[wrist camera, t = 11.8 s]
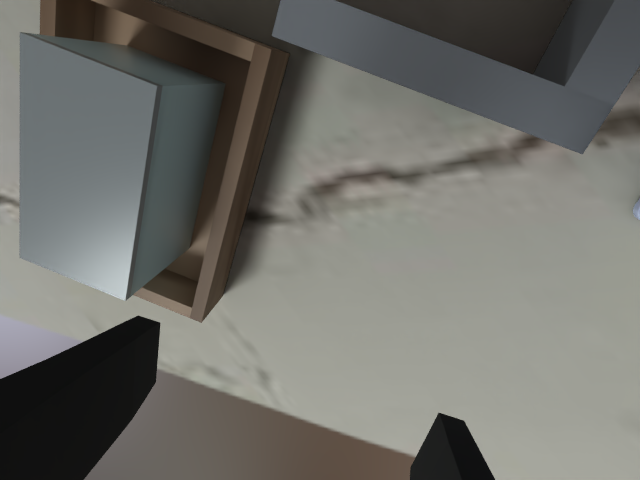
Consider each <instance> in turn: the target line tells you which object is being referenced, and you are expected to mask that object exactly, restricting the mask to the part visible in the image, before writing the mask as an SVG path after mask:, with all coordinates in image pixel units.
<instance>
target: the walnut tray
mask: <svg viewBox="0 0 640 480" xmlns="http://www.w3.org/2000/svg"><path fill="white" fill-rule="evenodd" d="M40 35H47V36H55V37H63V38H71V39H79V40H88V41H96V42H104V43H112V44H120V45H128V46H130V47H133V48H135V49H138V50H140V51H143V52H145V53H148V54H151V55H153V56H156V57H158V58H161V59H163V60H166V61H169V62H171V63H174V64H176V65H179V66H181V67H184V68H186V69H189V70H192V71H194V72H197V73H199V74H202V75H204V76H207V77H210V78H212V79H215V80H217V81H220V82H222V83H225V84H226V85H225V89H224V94H223V98H222V103H221V107H220V112H219V117H218V121H217V126H216V130H215V135H214V139H213V144H212V148H211V153H210V157H209V162H208V166H207V171H206V176H205V180H204V185H203V189H202V194H201V198H200V203H199V207H198V212H197V216H196V221H195V225H194V230H193V235H192V239H191V244H190V248H189V249H188V250H187V251H185V252H184V253H183V254H182V255H181V256H179V257H178V258H177V259H176V260H175V261H173V262H172V263H171V264H170V265H168V266H167V267H166V268H165V269H164V270H162V271H161V272H160V273H159V274H157V275H156V276H155V277H154V278H153V279H151V280H150V281H149V282H148V283H147V284H145V285H144V286H143V287H142V288H140V289H139V290H138V291H137V292H136V293H134V294H133V295H135V296H137V297H140V298H142V299H145V300H147V301H149V302H152V303H154V304H157V305H159V306H162V307H164V308H167V309H169V310H172V311H174V312H176V313H179V314H181V315H184V316H186V317H189V318H191V319H194V320H196V321H199V322H201V323H202V321H203V320H204V319H205V318H206V316H207V315H208V314H209V313H210V311H211V310H212V309H213V308H214V306H215V305H216V304H217V303H218V301H219V300H220V299H221V297H222V296H223V294H224V290H225V287H226V283H227V279H228V276H229V272H230V269H231V265H232V261H233V258H234V254H235V250H236V247H237V243H238V240H239V236H240V232H241V229H242V225H243V222H244V218H245V214H246V211H247V207H248V203H249V200H250V196H251V193H252V189H253V185H254V182H255V178H256V174H257V171H258V167H259V164H260V160H261V156H262V153H263V149H264V146H265V142H266V138H267V135H268V131H269V127H270V124H271V120H272V117H273V113H274V109H275V106H276V102H277V99H278V95H279V91H280V88H281V84H282V80H283V77H284V73H285V70H286V66H287V62H288V59H289V55H290V54H289V53H287V52H284V51H282V50H279V49H276V48H274V47H271V46H268V45H266V44H263V43H261V42H258V41H255V40H253V39H250V38H247V37H245V36H242V35H240V34H237V33H234V32H232V31H229V30H227V29H224V28H221V27H219V26H216V25H213V24H211V23H208V22H206V21H203V20H200V19H198V18H195V17H192V16H190V15H187V14H185V13H182V12H179V11H177V10H174V9H171V8H169V7H166V6H164V5H161V4H158V3H156V2H153V1H151V0H41V2H40Z"/></svg>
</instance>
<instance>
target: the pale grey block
mask: <svg viewBox="0 0 640 480" xmlns="http://www.w3.org/2000/svg"><path fill="white" fill-rule="evenodd" d="M225 85H226V84H225V83H222V82H220V81H217V80H215V79H212V78H210V77H207V76H204V75H202V74H199V73H197V72H194V71H192V70H189V69H186V68H184V67H181V66H179V65H176V64H174V63H171V62H169V61H166V60H163V59H161V58H158V57H156V56H153V55H151V54H148V53H145V52H143V51H140V50H138V49H135V48H133V47H130V46H128V45H120V44H112V43H104V42H96V41H88V40H79V39H71V38H63V37H55V36H47V35H39V34H31V33H22V32H20V258H22V259H24V260H27V261H29V262H32V263H34V264H36V265H39V266H41V267H44V268H46V269H49V270H51V271H53V272H56V273H58V274H61V275H63V276H66V277H68V278H71V279H73V280H75V281H78V282H80V283H83V284H85V285H88V286H90V287H92V288H95V289H97V290H100V291H102V292H105V293H107V294H110V295H112V296H114V297H117V298H119V299H122V300H124V301H126V300H127V299H128V298H129V297H131V296H132V295H133V294H134V293H136V292H137V291H138V290H139V289H140V288H142V287H143V286H144V285H145V284H147V283H148V282H149V281H150V280H151V279H153V278H154V277H155V276H156V275H157V274H159V273H160V272H161V271H162V270H164V269H165V268H166V267H167V266H168V265H170V264H171V263H172V262H173V261H175V260H176V259H177V258H178V257H179V256H181V255H182V254H183V253H184V252H185V251H187V250H188V249H189V248H190V244H191V239H192V235H193V230H194V225H195V221H196V216H197V212H198V207H199V203H200V198H201V194H202V189H203V185H204V180H205V176H206V171H207V166H208V162H209V157H210V153H211V148H212V144H213V139H214V135H215V130H216V126H217V121H218V117H219V112H220V107H221V103H222V98H223V94H224V89H225Z"/></svg>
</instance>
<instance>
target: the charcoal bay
mask: <svg viewBox="0 0 640 480" xmlns="http://www.w3.org/2000/svg"><path fill="white" fill-rule="evenodd" d="M272 36H273V37H276V38H278V39H281V40H284V41H286V42H289V43H291V44H294V45H297V46H299V47H302V48H305V49H307V50H310V51H312V52H315V53H318V54H320V55H323V56H326V57H328V58H331V59H333V60H336V61H339V62H341V63H344V64H347V65H349V66H352V67H354V68H357V69H360V70H362V71H365V72H368V73H370V74H373V75H375V76H378V77H381V78H383V79H386V80H389V81H391V82H394V83H396V84H399V85H402V86H404V87H407V88H410V89H412V90H415V91H417V92H420V93H423V94H425V95H428V96H431V97H433V98H436V99H438V100H441V101H444V102H446V103H449V104H452V105H454V106H457V107H459V108H462V109H465V110H467V111H470V112H473V113H475V114H478V115H481V116H483V117H486V118H488V119H491V120H494V121H496V122H499V123H502V124H504V125H507V126H509V127H512V128H515V129H517V130H520V131H523V132H525V133H528V134H530V135H533V136H536V137H538V138H541V139H544V140H546V141H549V142H551V143H554V144H557V145H559V146H562V147H565V148H567V149H570V150H572V151H575V152H578V153H580V154H583V153H584V151H585V150H586V148H587V147H588V145H589V144H590V142H591V141H592V139H593V137H594V136H595V134H596V133H597V131H598V130H599V128H600V127H601V125H602V123H603V122H604V120H605V119H606V117H607V116H608V114H609V113H610V111H611V109H612V108H613V106H614V105H615V103H616V102H617V100H618V99H619V97H620V95H621V94H622V92H623V91H624V89H625V88H626V86H627V85H628V83H629V82H630V80H631V78H632V77H633V75H634V74H635V72H636V71H637V69H638V68H639V66H640V0H573V1H572V3H571V5H570V7H569V8H568V10H567V12H566V14H565V16H564V18H563V20H562V21H561V23H560V25H559V27H558V29H557V31H556V33H555V34H554V36H553V38H552V40H551V42H550V44H549V46H548V47H547V49H546V51H545V53H544V55H543V57H542V59H541V60H540V62H539V64H538V66H537V68H536V70H535V72H534V73H533V75H532V74H530V73H527V72H525V71H522V70H519V69H517V68H514V67H511V66H509V65H506V64H503V63H501V62H498V61H495V60H493V59H490V58H487V57H485V56H482V55H479V54H477V53H474V52H471V51H469V50H466V49H463V48H461V47H458V46H455V45H453V44H450V43H447V42H445V41H442V40H439V39H437V38H434V37H431V36H429V35H426V34H423V33H421V32H418V31H415V30H413V29H410V28H407V27H405V26H402V25H399V24H397V23H394V22H392V21H389V20H386V19H384V18H381V17H378V16H376V15H373V14H370V13H368V12H365V11H362V10H360V9H357V8H354V7H352V6H349V5H346V4H344V3H341V2H338V1H336V0H281V1H280V5H279V9H278V13H277V16H276V20H275V24H274V28H273V32H272Z"/></svg>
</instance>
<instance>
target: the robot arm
mask: <svg viewBox="0 0 640 480" xmlns="http://www.w3.org/2000/svg"><path fill="white" fill-rule="evenodd" d="M633 214H634V216H635V217H636V218H637V219H639V220H640V199H639V200H638V201H637V203H636V204H635V206H634V208H633ZM159 334H160V322H156V321H153V320H150V319H147V318H144V317H141V316H136V317H134V318H132V319H130V320H128V321H126V322H124V323H121V324H119V325H117V326H115V327H113V328H111V329H109V330H107V331H105V332H103V333H101V334H99V335H97V336H95V337H93V338H91V339H89V340H87V341H84V342H82V343H80V344H78V345H76V346H74V347H72V348H70V349H68V350H65V351H63V352H61V353H59V354H57V355H55V356H53V357H51V358H48V359H46V360H44V361H42V362H39V363H37V364H35V365H33V366H30V367H28V368H25V369H23V370H21V371H18V372H16V373H14V374H11V375H9V376H7V377H4V378H2V379H0V480H84V478H85V477H86V476H87V475H88V473H89V472H90V471H91V470H92V469H93V467H94V466H95V465H96V464H97V462H98V461H99V460H100V459H101V458H102V456H103V455H104V454H105V452H106V451H107V450H108V449H109V448H110V446H111V445H112V444H113V443H114V441H115V440H116V439H117V438H118V436H119V435H120V434H121V433H122V431H123V430H124V429H125V428H126V426H127V425H128V424H129V422H130V421H131V420H132V419H133V417H134V416H135V414H136V413H137V411H138V409H139V408H140V406H141V405H142V403H143V402H144V400H145V398H146V397H147V395H148V394H149V392H150V391H151V389H152V387H153V386H154V384H155V382H156V371H157V359H158V347H159ZM410 480H495V479H494V477H493V475H492V473H491V471H490V469H489V467H488V465H487V463H486V462H485V460H484V458H483V456H482V454H481V452H480V450H479V448H478V446H477V444H476V443H475V441H474V439H473V437H472V435H471V433H470V431H469V429H468V427H467V426H466V424H465V422H464V421H463V420H460V419H457V418H454V417H451V416H448V415H444V414H441V413H438V415H437V417H436V419H435V421H434V423H433V425H432V427H431V429H430V431H429V433H428V435H427V437H426V439H425V441H424V443H423V444H422V446H421V448H420V450H419V452H418V454H417V456H416V458H415V460H414V462H413V464H412V466H411V470H410Z"/></svg>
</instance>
